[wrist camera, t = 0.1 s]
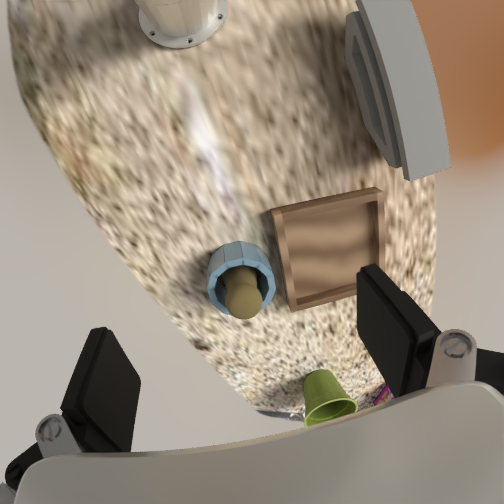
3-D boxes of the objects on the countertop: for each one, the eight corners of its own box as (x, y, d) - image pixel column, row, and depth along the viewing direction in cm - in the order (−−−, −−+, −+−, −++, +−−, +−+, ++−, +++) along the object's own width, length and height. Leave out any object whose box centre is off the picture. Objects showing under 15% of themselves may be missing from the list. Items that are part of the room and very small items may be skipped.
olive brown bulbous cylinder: (244, 290, 54) (252, 331, 44) (213, 276, 52) (214, 316, 42) (263, 263, 52) (275, 300, 42) (231, 247, 50) (237, 282, 40)
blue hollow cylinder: (200, 250, 49) (199, 268, 44) (262, 235, 50) (268, 251, 44) (216, 300, 54) (217, 322, 49) (273, 287, 54) (279, 307, 49)
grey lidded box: (410, 153, 46) (450, 167, 37) (373, 165, 47) (410, 181, 37) (372, 13, 35) (409, -3, 25) (330, 17, 36) (360, -3, 26)
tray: (270, 209, 48) (273, 215, 45) (374, 186, 48) (383, 191, 46) (287, 302, 56) (291, 312, 53) (377, 278, 56) (384, 286, 54)
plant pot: (351, 371, 67) (368, 406, 57) (316, 399, 70) (328, 435, 60) (319, 354, 63) (335, 393, 53) (282, 385, 66) (292, 425, 56)
